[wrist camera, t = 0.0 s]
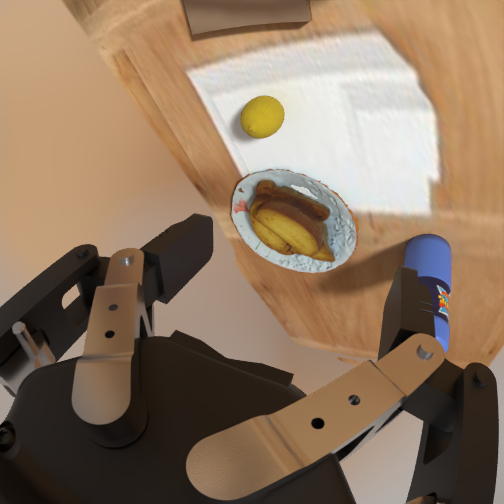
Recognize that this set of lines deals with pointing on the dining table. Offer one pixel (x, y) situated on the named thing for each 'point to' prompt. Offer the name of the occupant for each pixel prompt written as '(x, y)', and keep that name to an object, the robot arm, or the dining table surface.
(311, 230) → the food on plate
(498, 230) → the dining table surface
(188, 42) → the dining table surface
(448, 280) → the water bottle
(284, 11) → the flat brown board
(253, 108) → the lemon
